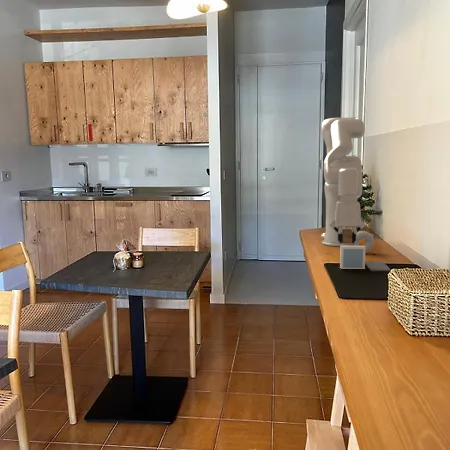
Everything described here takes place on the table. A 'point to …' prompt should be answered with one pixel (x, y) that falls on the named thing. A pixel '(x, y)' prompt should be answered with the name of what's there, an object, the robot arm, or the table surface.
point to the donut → (367, 237)
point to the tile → (352, 257)
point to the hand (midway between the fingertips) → (346, 242)
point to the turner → (347, 237)
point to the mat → (377, 266)
